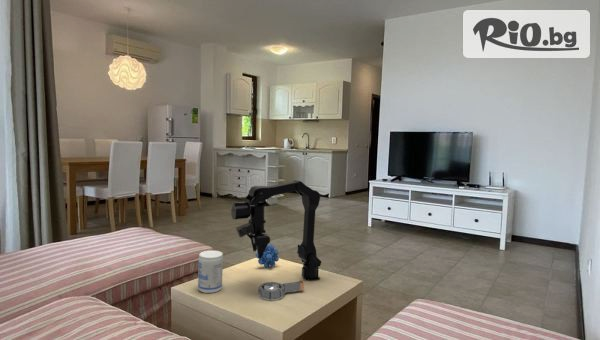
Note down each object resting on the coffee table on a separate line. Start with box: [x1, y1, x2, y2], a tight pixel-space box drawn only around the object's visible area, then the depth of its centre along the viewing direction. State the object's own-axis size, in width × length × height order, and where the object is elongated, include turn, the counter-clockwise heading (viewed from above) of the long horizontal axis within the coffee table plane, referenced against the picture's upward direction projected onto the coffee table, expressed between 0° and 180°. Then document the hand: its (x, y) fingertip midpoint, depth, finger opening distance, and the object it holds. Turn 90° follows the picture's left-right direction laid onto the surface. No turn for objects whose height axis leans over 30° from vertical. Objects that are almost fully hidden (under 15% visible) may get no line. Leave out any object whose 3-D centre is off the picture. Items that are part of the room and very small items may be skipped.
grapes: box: [255, 243, 280, 269], centre depth 177 cm, size 12×7×12 cm, turn 114°
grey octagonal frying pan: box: [258, 280, 305, 299], centre depth 149 cm, size 18×10×3 cm, turn 111°
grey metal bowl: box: [258, 283, 285, 302], centre depth 147 cm, size 10×10×4 cm
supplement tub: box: [197, 250, 224, 294], centre depth 151 cm, size 10×10×15 cm
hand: (257, 254), depth 154 cm, fingers open, 9 cm apart
